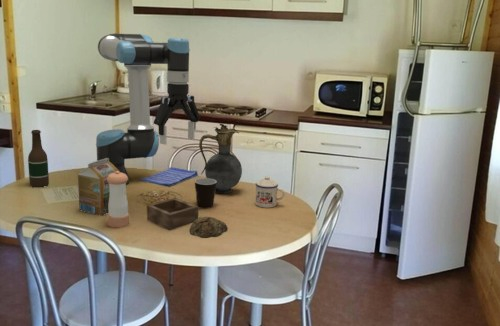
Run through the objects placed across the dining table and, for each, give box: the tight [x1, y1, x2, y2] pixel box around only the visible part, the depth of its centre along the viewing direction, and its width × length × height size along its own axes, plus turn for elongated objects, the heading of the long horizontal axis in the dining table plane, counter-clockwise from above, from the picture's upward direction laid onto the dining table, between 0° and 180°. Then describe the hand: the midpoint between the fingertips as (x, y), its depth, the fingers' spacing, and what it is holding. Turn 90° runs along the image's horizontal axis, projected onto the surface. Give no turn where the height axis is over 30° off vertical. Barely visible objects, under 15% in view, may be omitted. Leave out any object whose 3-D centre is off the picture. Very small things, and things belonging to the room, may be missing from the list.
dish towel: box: [139, 166, 199, 188], centre depth 225 cm, size 17×24×3 cm
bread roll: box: [189, 216, 229, 239], centre depth 166 cm, size 13×12×5 cm
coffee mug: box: [194, 177, 217, 209], centre depth 191 cm, size 12×9×10 cm
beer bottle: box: [27, 129, 50, 188], centre depth 203 cm, size 8×8×24 cm
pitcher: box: [198, 123, 243, 195], centre depth 206 cm, size 11×19×30 cm, turn 76°
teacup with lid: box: [254, 175, 286, 209], centre depth 194 cm, size 12×9×12 cm
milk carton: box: [77, 158, 118, 217], centre depth 180 cm, size 11×11×19 cm
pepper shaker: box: [107, 171, 130, 228], centre depth 167 cm, size 7×7×19 cm
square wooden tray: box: [146, 197, 199, 231], centre depth 173 cm, size 13×13×6 cm
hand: (177, 141), depth 176 cm, fingers open, 13 cm apart
